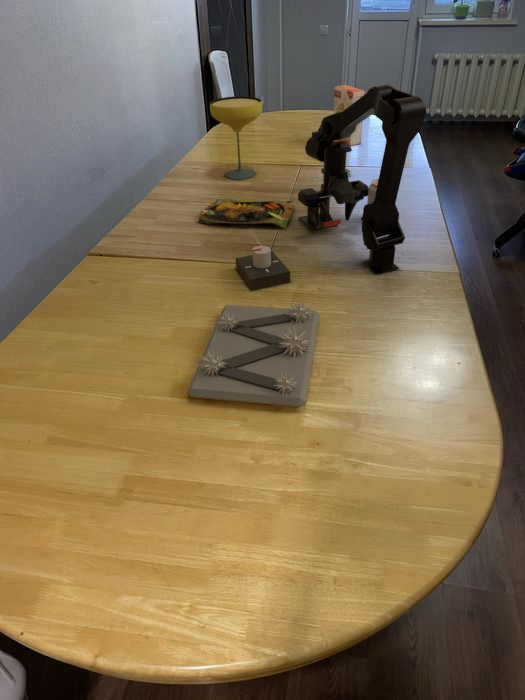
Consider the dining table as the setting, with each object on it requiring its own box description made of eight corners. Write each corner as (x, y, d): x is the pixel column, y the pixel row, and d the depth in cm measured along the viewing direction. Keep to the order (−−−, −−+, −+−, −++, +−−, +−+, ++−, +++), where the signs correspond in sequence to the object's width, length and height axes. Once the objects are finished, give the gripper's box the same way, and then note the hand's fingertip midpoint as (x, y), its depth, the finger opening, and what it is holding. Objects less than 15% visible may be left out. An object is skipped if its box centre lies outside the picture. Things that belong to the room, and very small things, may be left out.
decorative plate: (224, 312, 117) (221, 284, 112) (319, 318, 113) (320, 289, 109) (186, 401, 93) (181, 370, 89) (305, 412, 90) (305, 381, 85)
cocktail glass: (271, 178, 188) (270, 103, 173) (224, 186, 183) (218, 110, 168) (254, 164, 201) (251, 94, 186) (209, 171, 196) (203, 99, 181)
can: (391, 227, 150) (396, 186, 143) (365, 226, 151) (368, 185, 144) (391, 217, 156) (396, 177, 149) (366, 216, 157) (369, 176, 150)
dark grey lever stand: (337, 227, 151) (339, 195, 145) (312, 232, 149) (313, 199, 143) (322, 215, 159) (323, 184, 153) (298, 220, 157) (299, 188, 151)
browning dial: (267, 258, 130) (266, 243, 127) (273, 266, 127) (273, 250, 124) (250, 262, 129) (249, 246, 126) (256, 270, 126) (256, 253, 123)
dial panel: (290, 282, 126) (290, 270, 124) (251, 290, 124) (250, 278, 122) (272, 261, 135) (272, 250, 134) (236, 268, 133) (235, 257, 131)
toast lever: (339, 226, 146) (342, 220, 144) (323, 229, 145) (325, 223, 143) (323, 195, 151) (325, 189, 149) (308, 198, 150) (309, 192, 148)
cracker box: (331, 138, 226) (333, 86, 214) (343, 136, 228) (346, 84, 216) (349, 146, 216) (352, 91, 203) (361, 144, 218) (365, 89, 205)
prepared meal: (194, 213, 154) (214, 190, 168) (195, 224, 156) (215, 201, 170) (285, 223, 148) (299, 199, 162) (285, 234, 150) (298, 210, 164)
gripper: (315, 181, 127) (313, 240, 136) (382, 170, 131) (376, 228, 141) (297, 168, 135) (297, 224, 145) (360, 158, 140) (356, 213, 149)
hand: (332, 223), depth 145 cm, fingers open, 9 cm apart
